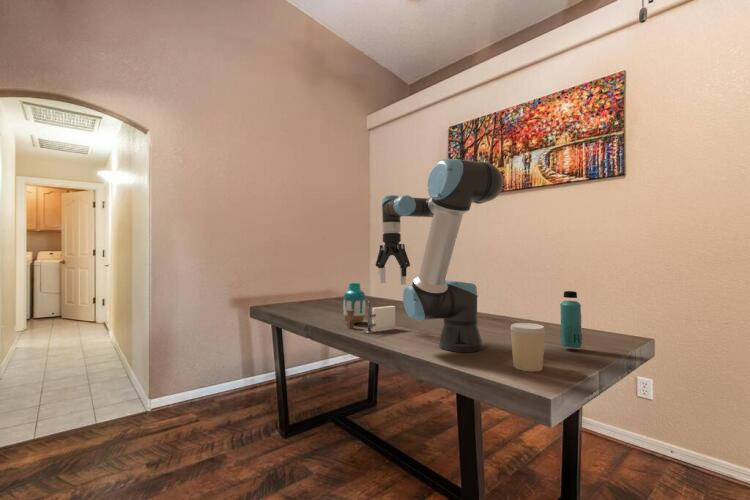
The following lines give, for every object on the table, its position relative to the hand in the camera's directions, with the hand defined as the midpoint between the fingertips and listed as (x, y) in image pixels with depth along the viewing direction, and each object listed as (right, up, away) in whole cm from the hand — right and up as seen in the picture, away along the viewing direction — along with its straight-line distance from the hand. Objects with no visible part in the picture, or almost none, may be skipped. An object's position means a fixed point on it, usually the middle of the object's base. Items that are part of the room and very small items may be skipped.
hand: (392, 283), depth 151 cm
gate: (-4, -20, +5) cm, 21 cm away
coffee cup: (+37, -20, -46) cm, 62 cm away
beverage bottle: (+60, -20, -28) cm, 69 cm away
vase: (-17, -21, +22) cm, 35 cm away
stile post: (-18, -21, +10) cm, 29 cm away
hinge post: (-10, -21, +1) cm, 23 cm away
